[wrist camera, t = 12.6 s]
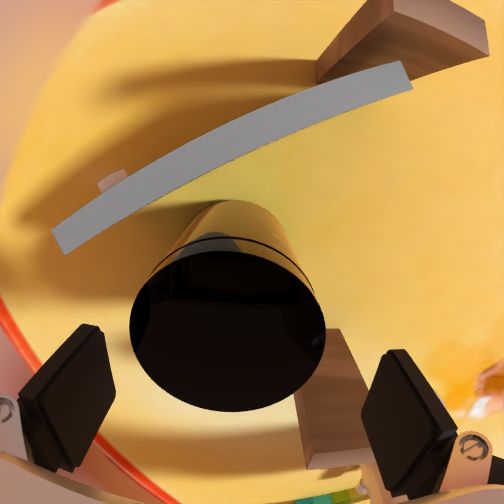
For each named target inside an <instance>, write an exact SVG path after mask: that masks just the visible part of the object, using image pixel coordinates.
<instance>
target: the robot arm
mask: <svg viewBox="0 0 504 504" xmlns="http://www.w3.org/2000/svg"><path fill="white" fill-rule="evenodd" d="M18 395H19V398H18V399H17V401H16V400H15V399H14V398H13V397H11V396H9V395H5V394H0V504H147V503H143V502H139V501H135V500H131V499H127V498H124V497H120V496H117V495H113V494H110V493H107V492H104V491H101V490H98V489H95V488H92V487H89V486H87V485H84V484H81V483H78V482H76V481H73V480H70V479H68V478H65V477H63V476H60V475H58V474H56V472H57V470H58V468H61V469H63V470H66V471H68V472H71V473H73V471H74V469H75V467H79V466H80V465H81V463H82V461H83V459H84V457H85V455H86V453H87V451H88V449H89V447H90V445H91V443H92V441H93V439H94V437H95V436H96V434H97V432H98V430H99V428H100V426H101V424H102V422H103V420H104V418H105V416H106V414H107V413H108V411H109V409H110V407H111V405H112V403H113V401H114V399H115V396H116V390H115V385H114V381H113V377H112V372H111V367H110V363H109V358H108V352H107V347H106V342H105V336H104V333H103V332H102V331H100V329H99V327H98V326H94V325H89V324H81V325H80V326H79V327H78V328H77V329H76V330H75V331H74V332H73V333H72V335H71V336H70V337H69V338H68V339H67V340H66V341H65V342H64V343H63V344H62V345H61V346H60V347H59V348H58V349H57V350H56V351H55V353H54V354H53V355H52V356H51V357H50V358H49V359H48V360H47V361H46V362H45V363H44V365H43V366H42V367H41V368H40V369H39V370H38V371H37V372H36V374H35V375H34V376H33V377H32V378H31V379H30V380H29V382H28V383H27V384H26V385H25V386H24V387H23V388H22V390H21V391H20V392H19V393H18ZM361 420H362V423H363V425H364V428H365V431H366V434H367V437H368V440H369V442H370V445H371V448H372V451H373V454H374V457H375V460H376V461H375V462H369V463H363V464H357V465H354V466H360V469H361V473H362V479H361V480H360V481H359V482H358V484H357V485H356V487H355V490H356V492H357V493H359V494H366V493H368V496H369V499H370V503H371V504H504V459H502V458H499V457H496V456H493V455H492V453H493V452H492V445H491V443H490V441H489V440H488V439H487V438H486V437H485V436H484V435H483V434H480V433H478V432H474V431H466V432H463V433H461V434H460V435H459V436H458V434H457V433H456V431H457V429H458V427H457V426H456V424H455V423H454V421H453V419H452V418H451V416H450V415H449V413H448V412H447V410H446V407H445V403H444V401H443V400H442V398H441V397H440V395H438V394H437V393H436V392H434V390H433V389H432V387H431V386H430V384H429V383H428V381H427V380H426V378H425V377H424V376H423V374H422V373H421V371H420V370H419V368H418V367H417V365H416V364H415V363H414V361H413V360H412V358H411V357H410V355H409V354H408V353H407V351H406V350H405V349H394V350H388V351H387V353H386V354H383V356H382V357H381V360H380V363H379V366H378V369H377V371H376V374H375V377H374V380H373V382H372V385H371V387H370V390H369V393H368V395H367V398H366V400H365V402H364V405H363V407H362V410H361Z"/></svg>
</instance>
